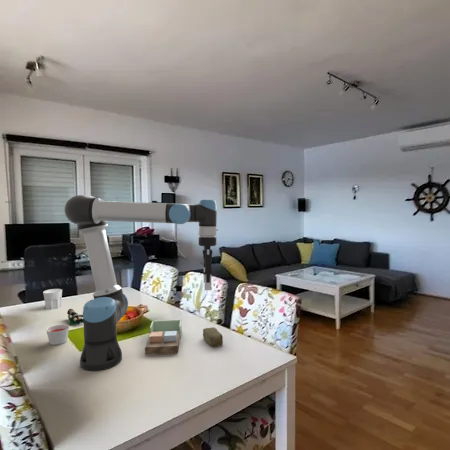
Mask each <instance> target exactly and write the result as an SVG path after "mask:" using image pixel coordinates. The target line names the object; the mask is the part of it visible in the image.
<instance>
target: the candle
mask: <svg viewBox="0 0 450 450" xmlns="http://www.w3.org/2000/svg"><path fill="white" fill-rule="evenodd" d="M69 330H70V324H69V325H68V324H56V325H52V326H49V327H47V328H46V329H45V331H46V334H47V339H48V342H49V343H48V344H50V345H51V346H58V345H62V344H64V343H67V341H68V337H69Z"/></svg>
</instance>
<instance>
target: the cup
mask: <svg viewBox="0 0 450 450" xmlns="http://www.w3.org/2000/svg"><path fill="white" fill-rule="evenodd" d="M42 294H43V298H44V299H43V300H44V304H45V305H44V307H45V309H46V310H55V309H58V308H60V307H61V308H62V298H63V297H62V296H63V288H62V289H61V288H51V289H46V290H44V291H43V292H42Z"/></svg>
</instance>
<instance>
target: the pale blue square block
mask: <svg viewBox="0 0 450 450" xmlns="http://www.w3.org/2000/svg"><path fill="white" fill-rule="evenodd" d="M176 340H177V331H165V334H164V341H176Z"/></svg>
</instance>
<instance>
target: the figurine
mask: <svg viewBox="0 0 450 450" xmlns="http://www.w3.org/2000/svg"><path fill="white" fill-rule="evenodd" d="M66 314H67V318H68V322H69V327H70V326H75V325H80V324H83V314H80V313H78V312H76V311H75V309H73V308H70V309H68V310H67V313H66Z"/></svg>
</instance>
